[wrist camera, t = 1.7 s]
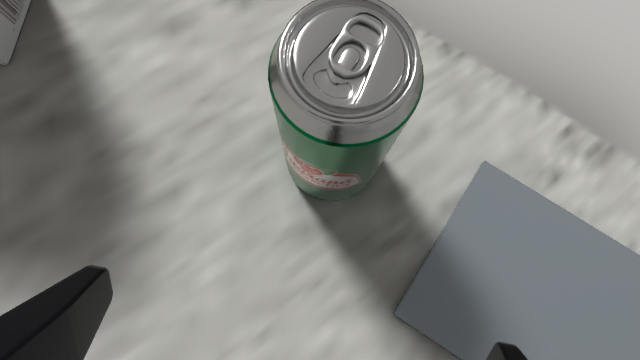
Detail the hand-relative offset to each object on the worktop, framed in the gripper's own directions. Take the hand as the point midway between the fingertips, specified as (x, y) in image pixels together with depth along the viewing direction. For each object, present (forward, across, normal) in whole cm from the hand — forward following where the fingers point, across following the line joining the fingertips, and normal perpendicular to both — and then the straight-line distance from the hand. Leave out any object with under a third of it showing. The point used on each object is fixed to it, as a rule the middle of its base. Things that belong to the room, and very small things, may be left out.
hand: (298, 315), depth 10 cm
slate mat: (+10, -13, +8) cm, 19 cm away
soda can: (+15, 0, +4) cm, 16 cm away
